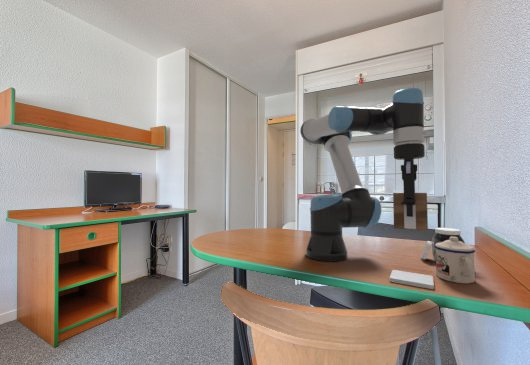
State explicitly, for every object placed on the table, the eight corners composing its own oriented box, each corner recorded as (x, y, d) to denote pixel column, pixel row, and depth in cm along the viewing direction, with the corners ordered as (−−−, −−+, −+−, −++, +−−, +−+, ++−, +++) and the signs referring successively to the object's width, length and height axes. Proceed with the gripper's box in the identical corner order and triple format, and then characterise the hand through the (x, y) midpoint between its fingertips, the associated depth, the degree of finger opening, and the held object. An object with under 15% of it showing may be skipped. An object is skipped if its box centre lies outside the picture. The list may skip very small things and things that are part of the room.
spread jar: (470, 269, 77) (469, 232, 77) (430, 267, 79) (430, 231, 79) (450, 258, 89) (449, 226, 89) (415, 256, 91) (415, 225, 91)
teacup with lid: (429, 271, 74) (428, 233, 75) (463, 273, 73) (462, 234, 73) (451, 287, 63) (449, 242, 63) (492, 290, 61) (490, 243, 61)
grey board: (389, 281, 67) (389, 277, 67) (392, 272, 74) (392, 269, 74) (433, 289, 61) (433, 285, 61) (432, 279, 68) (432, 275, 68)
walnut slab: (427, 230, 64) (426, 193, 65) (393, 228, 69) (393, 193, 69) (427, 228, 68) (426, 192, 68) (395, 226, 72) (394, 192, 72)
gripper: (424, 137, 60) (427, 233, 59) (424, 147, 74) (425, 224, 74) (390, 141, 64) (392, 230, 63) (396, 149, 78) (397, 222, 78)
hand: (410, 227), depth 68 cm, fingers closed on walnut slab, 4 cm apart
